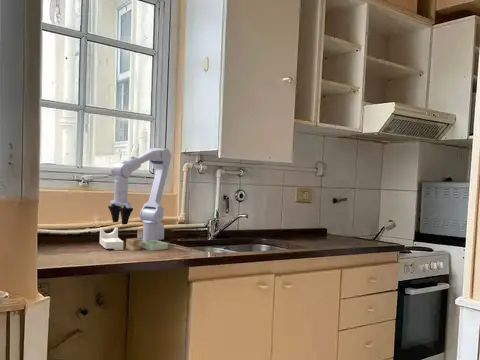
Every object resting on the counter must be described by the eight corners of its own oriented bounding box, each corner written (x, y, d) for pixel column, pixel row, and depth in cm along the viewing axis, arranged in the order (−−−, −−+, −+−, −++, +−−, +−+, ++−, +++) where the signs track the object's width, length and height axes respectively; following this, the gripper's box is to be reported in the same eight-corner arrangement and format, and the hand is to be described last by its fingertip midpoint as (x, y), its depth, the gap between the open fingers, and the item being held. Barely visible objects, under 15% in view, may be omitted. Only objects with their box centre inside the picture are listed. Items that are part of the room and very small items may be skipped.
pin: (140, 244, 201) (140, 228, 200) (143, 245, 199) (143, 229, 199) (135, 244, 199) (136, 228, 199) (138, 245, 197) (139, 229, 197)
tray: (155, 245, 200) (155, 240, 200) (167, 248, 194) (168, 243, 194) (139, 247, 194) (139, 241, 194) (151, 250, 188) (152, 244, 188)
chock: (134, 247, 194) (134, 238, 194) (141, 249, 190) (141, 239, 190) (126, 248, 191) (126, 238, 191) (132, 250, 187) (133, 240, 187)
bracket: (99, 245, 196) (100, 227, 196) (116, 244, 199) (116, 227, 199) (105, 251, 184) (105, 232, 184) (123, 250, 188) (123, 231, 187)
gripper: (104, 190, 199) (103, 221, 199) (121, 193, 188) (120, 226, 189) (118, 190, 204) (117, 220, 204) (136, 192, 193) (135, 224, 194)
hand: (120, 223), depth 197 cm, fingers open, 7 cm apart
